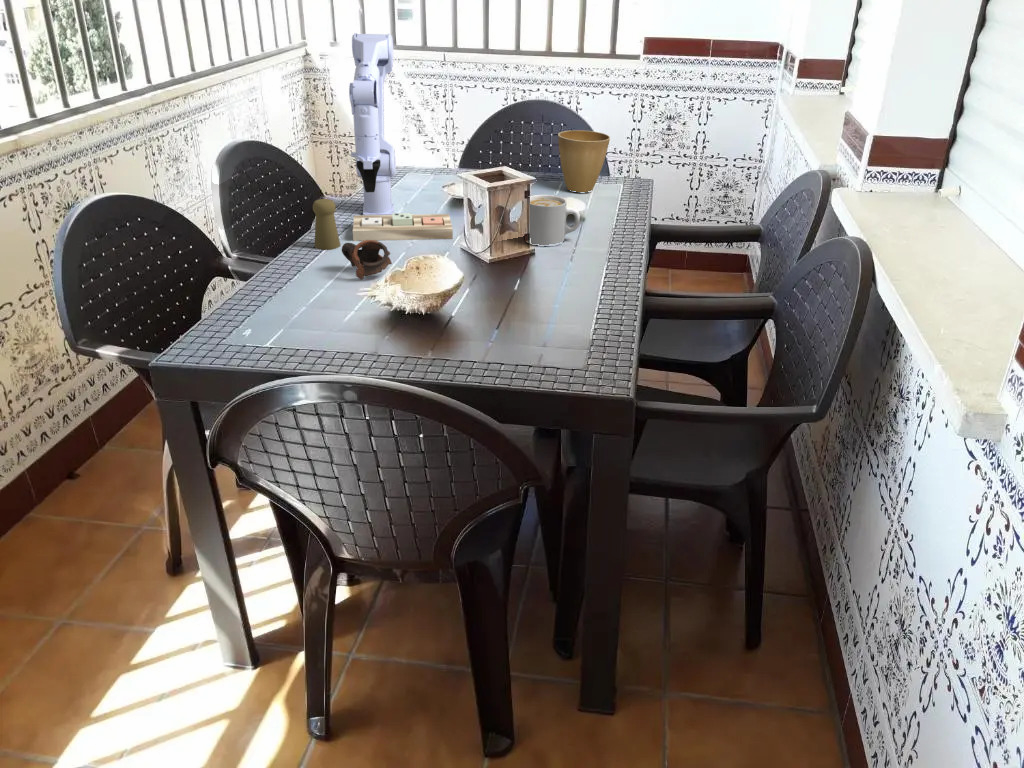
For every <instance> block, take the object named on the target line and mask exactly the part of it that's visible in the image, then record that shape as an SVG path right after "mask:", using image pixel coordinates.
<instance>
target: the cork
mask: <svg viewBox="0 0 1024 768" xmlns="http://www.w3.org/2000/svg"><path fill="white" fill-rule="evenodd" d="M336 207H337V206H336V203H335V202H334V201H333V200H331V199H329V198H320V199H315V200H314V201H313V204H312V211H313V213H314V214H315V222H314V223H315V228H314V248H315V249H316V250H320V249H321V250H320V251H322V250H323V251H330V250H331V251H332V250H336V249H339V248H340V247H341V242H340V238H339V232H338V227H337V222H336V219H335V218H336V217H335V212H336Z"/></svg>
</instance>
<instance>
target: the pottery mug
mask: <svg viewBox="0 0 1024 768" xmlns="http://www.w3.org/2000/svg"><path fill="white" fill-rule="evenodd" d="M387 247H388V246H386V245H385V244H384V243H382V242H380V241H379V240H365V241H360V242H359V243H357V244H354V243H353V242H345V243H344V244H343V245H342V247H341V253H342V254H343V256H344V257H345V259H346V260H347V261H348V262H350V264H351V267H352V268H353V267H356V272H355V276H356V278H358V279H359V280H363V279H364V277H370V276H373V275H377V274H379V273H382V272H383V270H386V269H387V267H388V266H389V265H393V264H392V263H393V262H392V260H391V258H390V255H391V252H390V251H389V250H388V248H387ZM380 250H382V251H383V256H382V255H381V254H379V253H380Z"/></svg>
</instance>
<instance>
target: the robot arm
mask: <svg viewBox="0 0 1024 768" xmlns="http://www.w3.org/2000/svg"><path fill="white" fill-rule="evenodd" d="M351 51H352V58H353V60H354V65H355V68H354V69H355V70H354V76H353V81H352V82H350V83H349V85H348V86H349V87H348V93H349V94H348V96H349V102H350V106H351V114H352V116H353V117H352V118H353V130H354V131H353V132H354V146H355V151H354V152H350V157H351V158H355V170H356V175H357V176H358V177H359V178H361V181H362V186H363V187H362V188H363V189H362V190H363V203H364V204H363V208H362V209H363V210H362V215H392V214H393V213H395V212H394V210H395V209H394V203H393V202H392V201H393V199H392V181H391V179H392V178H394V177H395V176H396V170H397V167H396V166H397V165H396V164H397V162H396V152H395V148H394V146H393V145H392V144H391V143H390V142H388V141H387V140H385V113H384V111H385V104H384V103H385V102H384V101H385V100H384V99H385V97H384V93H385V92H384V85H385V79H386V75H387V74H389V73H391V72H392V71H393V67H394V40H393V36H392V35H391V33H387V34H384V33H383V34H381V33H379V34H378V33H376V34H375V33H358V32H354V33H353V34H352V36H351Z"/></svg>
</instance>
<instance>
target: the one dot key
mask: <svg viewBox="0 0 1024 768" xmlns="http://www.w3.org/2000/svg"><path fill="white" fill-rule="evenodd" d="M423 225H443V220H442V217H423Z"/></svg>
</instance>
